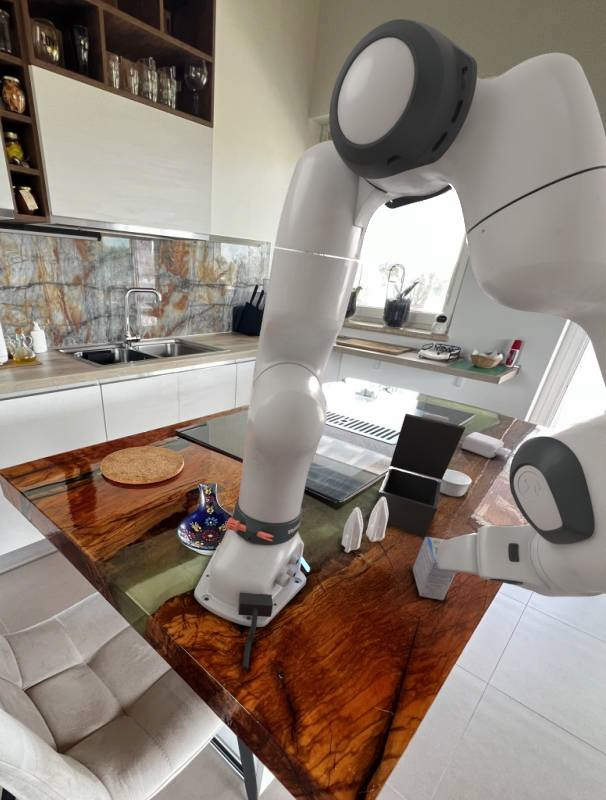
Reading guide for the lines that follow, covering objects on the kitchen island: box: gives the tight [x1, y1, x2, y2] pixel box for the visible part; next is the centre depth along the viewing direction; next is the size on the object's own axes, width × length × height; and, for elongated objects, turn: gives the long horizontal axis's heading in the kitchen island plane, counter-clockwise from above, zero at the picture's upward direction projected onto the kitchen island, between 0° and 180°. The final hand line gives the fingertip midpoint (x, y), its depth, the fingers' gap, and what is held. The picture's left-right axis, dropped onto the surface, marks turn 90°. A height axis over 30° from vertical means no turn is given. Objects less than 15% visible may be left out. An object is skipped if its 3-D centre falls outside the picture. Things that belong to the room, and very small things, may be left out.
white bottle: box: [461, 431, 515, 459], centre depth 139 cm, size 5×9×15 cm
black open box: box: [373, 466, 441, 538], centre depth 101 cm, size 16×13×8 cm
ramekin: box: [435, 468, 473, 497], centre depth 114 cm, size 9×9×4 cm
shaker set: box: [341, 497, 389, 553], centre depth 88 cm, size 12×4×11 cm, turn 116°
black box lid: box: [389, 412, 466, 480], centre depth 99 cm, size 16×13×5 cm
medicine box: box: [412, 536, 457, 601], centre depth 78 cm, size 8×4×9 cm, turn 168°
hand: (485, 567), depth 63 cm, fingers open, 8 cm apart
